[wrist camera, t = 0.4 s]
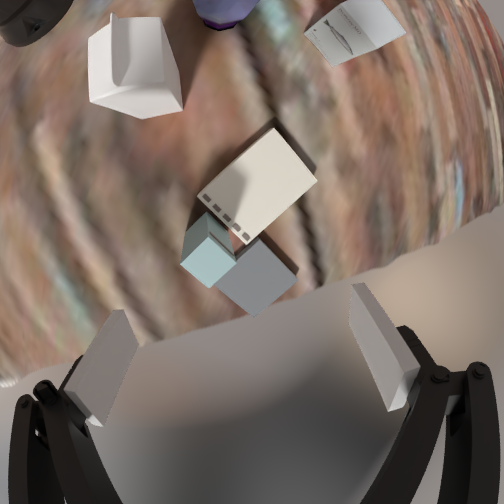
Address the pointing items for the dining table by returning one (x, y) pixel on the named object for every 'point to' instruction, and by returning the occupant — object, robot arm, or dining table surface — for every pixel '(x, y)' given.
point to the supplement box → (354, 30)
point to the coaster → (256, 278)
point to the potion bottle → (223, 12)
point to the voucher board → (257, 186)
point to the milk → (134, 68)
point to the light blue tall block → (207, 250)
